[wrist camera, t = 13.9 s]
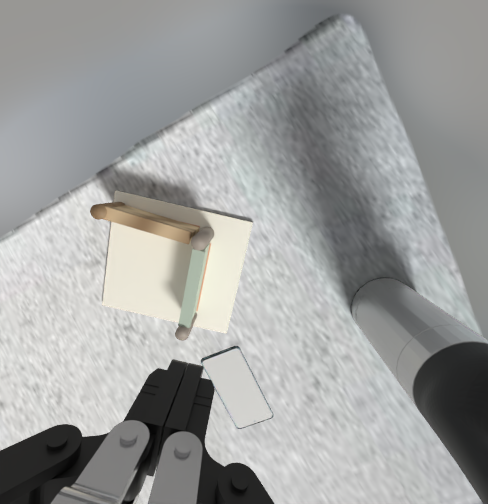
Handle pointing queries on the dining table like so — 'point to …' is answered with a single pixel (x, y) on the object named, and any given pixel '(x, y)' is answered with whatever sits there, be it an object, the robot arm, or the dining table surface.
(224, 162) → the dining table surface
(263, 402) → the smartphone
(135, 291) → the card
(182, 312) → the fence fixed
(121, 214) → the fence gate
